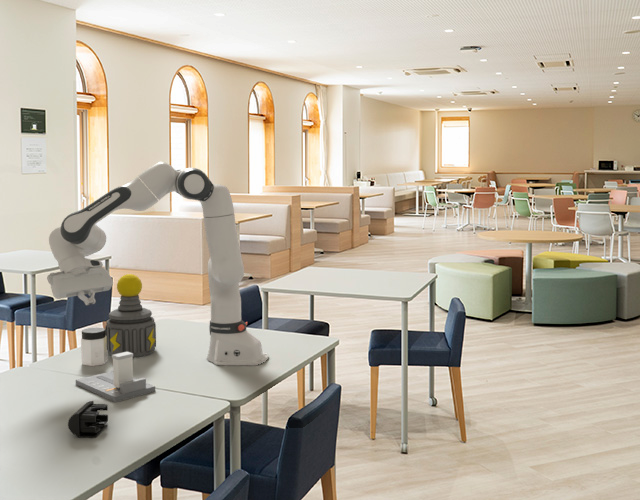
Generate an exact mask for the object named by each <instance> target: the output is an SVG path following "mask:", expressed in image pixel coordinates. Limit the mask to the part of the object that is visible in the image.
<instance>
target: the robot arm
mask: <svg viewBox="0 0 640 500" xmlns="http://www.w3.org/2000/svg"><path fill="white" fill-rule="evenodd" d="M172 192H175V193H177V194H179V195H180V197H182V198H185V199H187V200H195V201H199V203H200V205H201V208H202V216H203V223H204V231H205V238H206V239H205V240H206V243H207V248H208V251H209V259H208V262H207V275H208V277H207V278H208V287H209V288H208V289H209V298H210V320H209V326H208V327H209V336H210V341H209V347H208V348H209V349H208V353H207V356H206V360H207V361H209V362H211V363H213V364H214V365H216V366H259V365H262V364H263V362H264V363H265V362H267V361H268V360H267V359H269V358H268V357H269V354H268V353H267V352H264V350H263V347H262V342H261V340H259V339H258V338H257V337H256V336H255V335H253V334H252V333H250V332H249V331H248V330H247V325H248V321H246V322H245V321H244V320H243V319H242V297H241V291H240V285H239V283H240V282H241V281H242V280H243V278H244V276H245V267H244V261H243V257H242V252H241V246H240V242H239V238H238V233H237V224H236V217H235V216H236V215H235V207H234V202H233V199H232V195H231V193H230V190H229V188H228V187H227V186H226V185H223V184H219V183H215V184H213V182H212V181H211V180H210V177H208V175H207V174H206V173H205V172H204V171H202V169H198V168H195V167H187V168H183V169H182V168H181V169H177V170H176V169H175V168H174V167H173V166H172V165H170V164H169V163H168V162H165V161H159V162H157V163H155V164H153V165H151V166H150V167H148V168H146V169H145V170H144V171H142V172H141V173H140V174H139V175H137V176H135V178H134V179H132V180H130V181H129V182H127V183H125V184H123V185H121V186H118V187H115V188H114V189H112V190H109V192H107V193H105V194H104V195H102V196H100V197H99V198H97V199H96V200H94V201H93V202H92V203H90V204H88V205H87V206H86V207H84V208H82V209H80V210H76V211H74V212H72V213H70V214H68V215H67V216H66V217H64V218H63V220H62V222H61V224H60V226H58V227H56V228H55V229H52V231H51V232H50V234H49V236H48V244H49V246H50V250H51V252H52V254H53V258H54V259H55V261H57V263H58V264H57V265H58V268H59V271H58V272H57V271H56V272H51V273H49V274H48V275H47V278H46V279H47V281H48V284H49V285H50V289H51V292H52V296H53V297H54V298H55V299H57V300H60V299H66V298H71V297H76V296H77V297H78V299H80V300H81V301H83V303H84V304H85V306H90V305H95V304H96V298H95V294H96V293H101V292H107V291H110V290H111V289H112V287H113V286H114V281H113V278H112V276H111V275H110V273H109V271H108V270H107V268H105V267H103V266H104V265H103V264H104V263H103V262H102V260H99V259H98V260H96V259H91V258H87V257H89V256H91V255H94V254H95V253H98V252H99V251H101V250H102V249H103V248H104V247H105V245H106V242H107V235H106V232H105V231H104V230H103V229H102V228H101V227H100V226H98V225H97V223H99V222H101V221H102V220H103V219H106V217H108V216H109V215H110V214H113V213H114V212H115V211H118V210H122V209H125V210H132V211H137V212H145V211H146V210H148V209H151V208H152V207H154V205H156V204H157V203H158V202H159V201H160V200H161V199H163V198H164V197H165V196H167V195H168V194H169V193H172ZM86 295H88V296H89V297H87V296H86ZM266 360H267V361H266ZM261 363H262V364H261ZM258 364H259V365H258Z"/></svg>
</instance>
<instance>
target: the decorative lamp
mask: <svg viewBox="0 0 640 500" xmlns="http://www.w3.org/2000/svg"><path fill="white" fill-rule="evenodd" d="M116 289H117V292H118V294H119V295H120V300H119V303H118V304H119V305H118V307H117V308H116V309H114V310H111V311H110V312H109V313H108V319H107V320H106V323H105V327H104V329H105V330H106V336H107V356H110V357H112V355H114V354H118V353H123V352H130V353H133V359H134V358H136V359H137V358H142V357H146V356H149V355H151V354H154V352H155V350H156V348H157V331H156V330H157V325H156V322H155V318H154V317H153V316H152V314H153V313H152V311H151V310H150V309H148V308H145V307H143V305H142V304H141V303H142V302H141V300H140V296H139V295H140V293H141V291H142V289H143V283H142V281H141V279H140V278H139V277H138V276H137V275H135V274H133V273H127V274H124V275H122V276H121V277H120V278H119V279H118V281H117V283H116Z"/></svg>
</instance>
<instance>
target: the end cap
mask: <svg viewBox="0 0 640 500" xmlns="http://www.w3.org/2000/svg"><path fill="white" fill-rule="evenodd" d="M108 405H109V404H108V403H106V404H105V403H104V404H103V403H100V404H99V403H95V402H94V400H89V401H88V402H86V403H84V405H82V406H81V407H80V408H79V409H78V410H77V411H75V413H73V414H72V415H71V416H70V417H69V419H68V422H67V427H68V430H69V432H70V433H72V434H73V435H75V436H76V437H77V438H79V439H96V438H98V437H99V436H100V434H102V433H103V431H105V429H106V428H107V427H108V426H109V424H108V421H109V415H108V414H101V413H100V411H106V412H107V411H108V410H109V408H108V407H109V406H108Z"/></svg>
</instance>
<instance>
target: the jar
mask: <svg viewBox="0 0 640 500" xmlns="http://www.w3.org/2000/svg"><path fill="white" fill-rule="evenodd" d="M80 347H81V348H80V350H81V365H82V366H87V367H88V366H89V367H95V366H102V365H105V364H106V363H107V361H108V353H107V336H106V330H105V327H87V328H84V329H81V339H80Z"/></svg>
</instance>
